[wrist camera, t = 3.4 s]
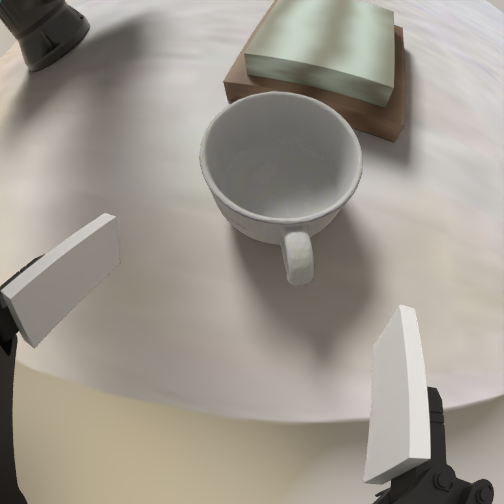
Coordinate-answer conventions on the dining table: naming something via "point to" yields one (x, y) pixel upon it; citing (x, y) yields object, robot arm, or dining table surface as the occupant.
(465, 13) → the dining table surface
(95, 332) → the dining table surface
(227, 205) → the teacup
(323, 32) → the block stand
